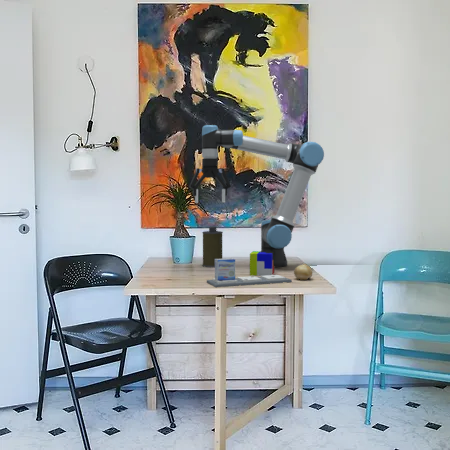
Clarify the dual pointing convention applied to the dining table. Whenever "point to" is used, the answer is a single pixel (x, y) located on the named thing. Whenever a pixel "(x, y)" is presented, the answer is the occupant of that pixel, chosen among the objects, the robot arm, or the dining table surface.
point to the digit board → (249, 281)
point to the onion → (303, 272)
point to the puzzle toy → (261, 263)
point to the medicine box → (225, 269)
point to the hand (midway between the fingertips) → (210, 202)
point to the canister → (212, 246)
